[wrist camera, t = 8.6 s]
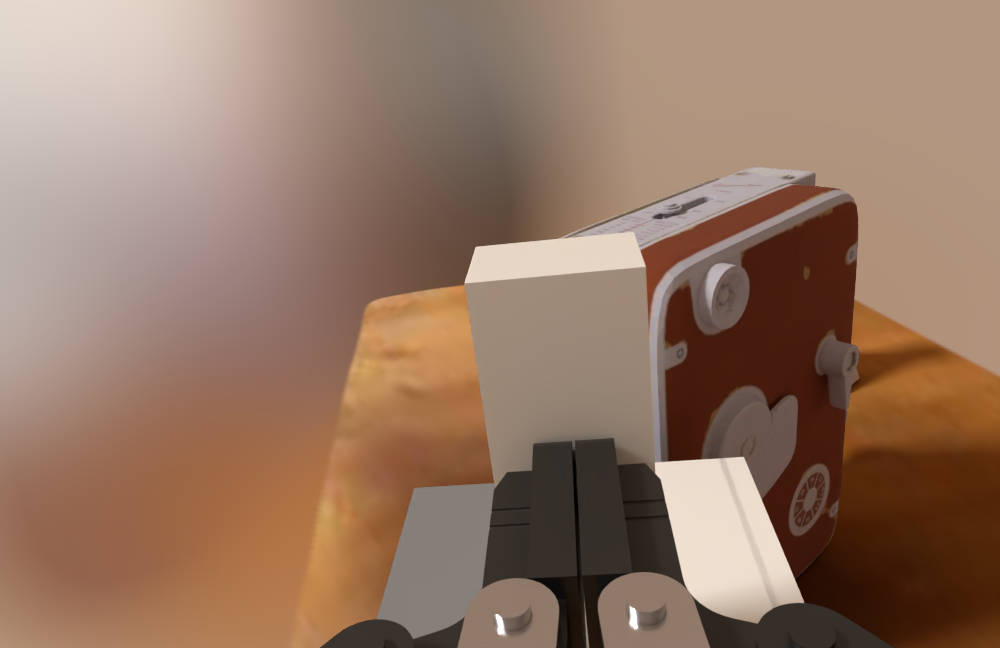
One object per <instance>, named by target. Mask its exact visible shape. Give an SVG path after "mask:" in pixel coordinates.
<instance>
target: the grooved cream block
mask: <svg viewBox="0 0 1000 648" xmlns="http://www.w3.org/2000/svg"><path fill="white" fill-rule="evenodd" d="M464 284H465V291H466V297H467V304H468V311H469V317H470V324H471V331H472V337H473V344H474V351H475V358H476V364H477V371H478V378H479V384H480V391H481V398H482V404H483V411H484V418H485V424H486V431H487V438H488V444H489V451H490V458H491V465H492V471H493V478H494V485H495V488H496V486H497V485H498V484H499V482H500V481H501V480H502V478H503V477H504V476H505V474H506V473H507V472H516V471H532V457H533V444H534V443H547V442H562V441H572V446H573V456H574V467H575V477H576V487H577V468H576V449H575V440H589V439H604V438H614V442H615V450H616V457H617V464H618V465H623V464H639V463H646V464H647V465H648V467H649V468H650V469H651V470H652V471H653V472H654V473H655V474H656V475H657V476H658V477H659V478H660V479H661V483H662V487H663V492H664V496H665V502H666V505H667V509H668V514H669V519H670V523H671V527H672V531H673V536H674V540H675V545H676V549H677V554H678V558H679V562H680V567H681V571H682V576H683V580H684V583H685V585H686V587H687V589H688V591H689V592H690V593H691V595H692V596H693V597H694V598H695V599H696V600H697V601H698V602H699V603H701V604H702V605H704V606H705V607H706V608H708V609H710V610H712V611H714V612H716V613H718V614H721V615H723V616H727V617H730V618H734V619H739V620H743V621H748V622H753V623H757V624H758V622H759V621H760V619H761V618H762V616H763V615H765V614H766V613H767V612H768V611H770V610H771V609H773V608H775V607H778V606H780V605H784V604H789V603H804V600H803V598H802V595H801V593H800V591H799V588H798V586H797V583H796V581H795V579H794V576H793V574H792V571H791V569H790V567H789V564H788V562H787V559H786V557H785V555H784V552H783V550H782V547H781V545H780V543H779V540H778V538H777V535H776V533H775V531H774V528H773V526H772V523H771V521H770V519H769V516H768V514H767V511H766V509H765V507H764V504H763V502H762V499H761V497H760V495H759V492H758V490H757V487H756V485H755V483H754V480H753V478H752V475H751V473H750V471H749V468H748V466H747V463H746V461H745V459H744V457H734V458H718V459H703V460H687V461H671V462H655V455H654V433H653V412H652V390H651V368H650V347H649V325H648V303H647V282H646V266H645V263H644V260H643V257H642V254H641V251H640V249H639V246H638V243H637V240H636V237H635V234H634V232H625V233H615V234H604V235H594V236H584V237H573V238H563V239H554V240H543V241H532V242H522V243H513V244H503V245H491V246H481V247H476V248H475V252H474V255H473V258H472V261H471V264H470V267H469V270H468V274H467V277H466V280H465V283H464ZM577 497H578V488H577ZM584 604H585V601H584ZM585 623H586V642H587V648H589V641H588V631H587V621H586V611H585Z"/></svg>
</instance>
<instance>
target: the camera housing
mask: <svg viewBox="0 0 1000 648" xmlns="http://www.w3.org/2000/svg"><path fill="white" fill-rule="evenodd" d="M494 489H495V485H494V483H489V484H473V485H457V486H440V487H424V488H414V491H413V495H412V498H411V502H410V505H409V509H408V512H407V516H406V519H405V523H404V526H403V530H402V533H401V537H400V540H399V544H398V547H397V551H396V554H395V558H394V561H393V565H392V568H391V572H390V575H389V579H388V582H387V586H386V589H385V593H384V596H383V600H382V603H381V607H380V610H379V614H378V617H377V619H384V620H390V621H393V622H396V623H398V624H400V625H402V626H403V627H405V628H406V629H407V630H408V631H409V633H410V634H411V636H412V638H413V639H415V638H418V637H421V636H424V635H427V634H430V633H434V632H437V631H440V630H442V629H445V628H448V627H449V626H451V625H453V624H455V623H457V622H458V621H460V620H461V619H463V618H464V617H465V614H466V610H467V608H468V605H469V603H470V602H471V600H472V599H473V597H474V596H475V595H476V594H477V593H478V592H479V591H481V590H482V585H483V576H484V568H485V560H486V551H487V543H488V534H489V530H490V518H491V513H492V501H493V493H494Z"/></svg>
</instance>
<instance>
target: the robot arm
mask: <svg viewBox="0 0 1000 648" xmlns="http://www.w3.org/2000/svg"><path fill="white" fill-rule="evenodd" d="M575 449H576V468H577V487H576V477H575V467H574V456H573V446H572V441H562V442H547V443H534V444H533V457H532V471H516V472H507V473H506V474H505V476H504V477H503V478H502V480H501V481H500V482H499V484H498V485H497V486H496V488H495V489H494V493H493V501H492V513H491V518H490V530H489V534H488V543H487V551H486V560H485V568H484V576H483V585H482V590H481V591H479V592H478V593H477V594H476V595H475V596H474V597H473V599H472V600H471V602H470V603H469V605H468V608H467V610H466V614H465V617H464V618H463V619H461V620H460V621H458V622H457V623H455V624H453V625H451V626H449V627H448V628H445V629H442V630H440V631H437V632H434V633H430V634H427V635H424V636H421V637H418V638H415V639H413V638H412V636H411V634H410V633H409V631H408V630H407V629H406V628H405V627H403V626H402V625H400V624H398V623H396V622H393V621H390V620H384V619H374V620H367V621H363V622H359V623H357V624H354V625H352V626H350V627H348V628H346V629H344V630H343V631H341V632H340V633H338V634H337V635H336V636H334V637H333V638H332V639H331V640H329V641H328V642H327V643H326V644H324V645H323V646H322V647H320V648H587V642H586V623H585V611H586V621H587V631H588V641H589V648H894V647H892V646H891V645H889V644H888V643H886V642H884V641H883V640H881V639H880V638H878V637H876V636H875V635H873V634H872V633H870V632H868V631H867V630H865V629H863V628H862V627H860V626H859V625H857V624H855V623H854V622H852V621H851V620H849V619H847V618H846V617H844V616H843V615H841V614H839V613H837V612H835V611H833V610H830V609H828V608H826V607H822V606H819V605H814V604H808V603H789V604H784V605H780V606H778V607H775V608H773V609H771V610H770V611H768V612H767V613H766V614H765V615H763V616H762V618H761V619H760V621H759V622H758V624H757V623H753V622H748V621H743V620H739V619H734V618H730V617H727V616H723V615H721V614H718V613H716V612H714V611H712V610H710V609H708V608H706V607H705V606H704V605H702V604H701V603H699V602H698V601H697V600H696V599H695V598H694V597H693V596H692V595H691V593H690V592H689V591H688V589H687V587H686V585H685V583H684V580H683V576H682V571H681V567H680V562H679V558H678V554H677V549H676V545H675V540H674V536H673V531H672V527H671V523H670V519H669V514H668V509H667V505H666V502H665V496H664V492H663V487H662V483H661V479H660V478H659V477H658V476H657V475H656V474H655V473H654V472H653V471H652V470H651V469H650V468H649V467H648V465H647V464H646V463H639V464H623V465H618V464H617V457H616V450H615V442H614V438H604V439H589V440H575ZM577 488H578V497H577ZM584 601H585V604H584Z"/></svg>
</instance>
